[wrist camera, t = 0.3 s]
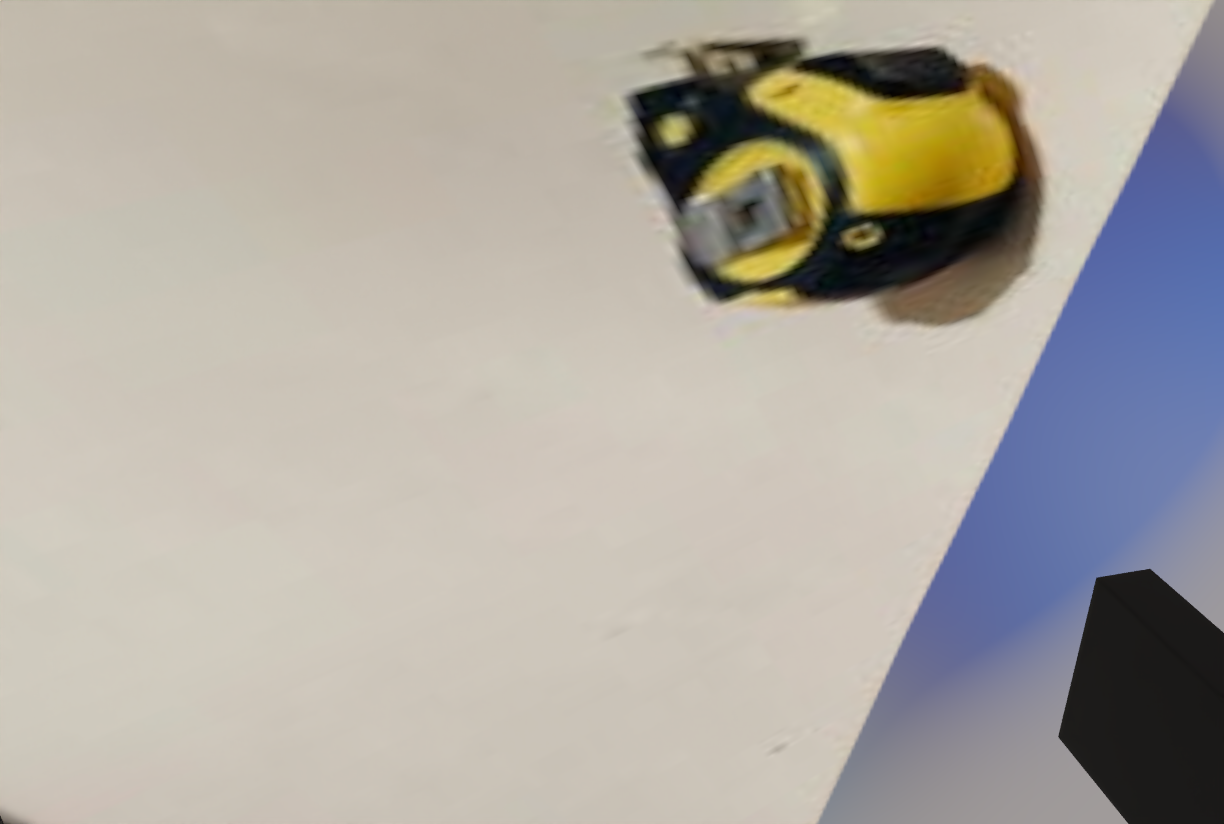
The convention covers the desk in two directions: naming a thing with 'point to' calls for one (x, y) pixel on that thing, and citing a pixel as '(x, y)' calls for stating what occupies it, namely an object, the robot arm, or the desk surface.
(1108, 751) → the robot arm
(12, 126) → the desk surface
